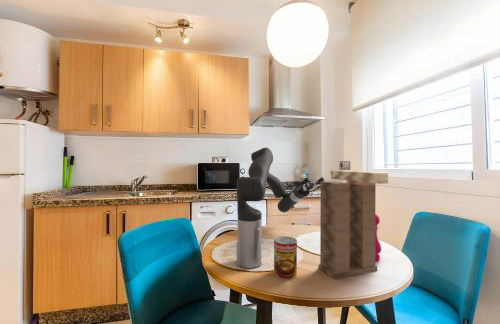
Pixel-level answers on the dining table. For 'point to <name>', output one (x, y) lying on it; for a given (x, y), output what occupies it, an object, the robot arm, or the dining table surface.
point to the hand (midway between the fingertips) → (315, 179)
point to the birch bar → (360, 176)
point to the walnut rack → (347, 228)
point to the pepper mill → (377, 244)
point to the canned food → (285, 257)
